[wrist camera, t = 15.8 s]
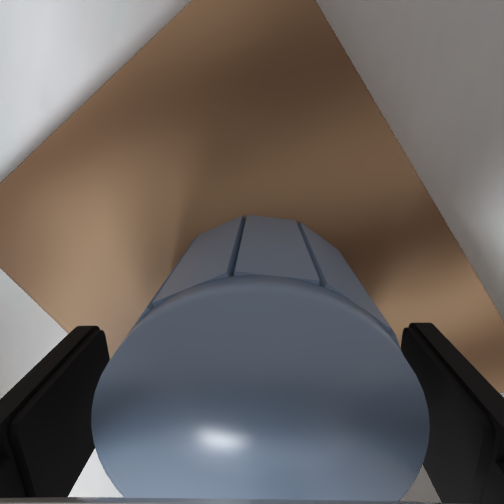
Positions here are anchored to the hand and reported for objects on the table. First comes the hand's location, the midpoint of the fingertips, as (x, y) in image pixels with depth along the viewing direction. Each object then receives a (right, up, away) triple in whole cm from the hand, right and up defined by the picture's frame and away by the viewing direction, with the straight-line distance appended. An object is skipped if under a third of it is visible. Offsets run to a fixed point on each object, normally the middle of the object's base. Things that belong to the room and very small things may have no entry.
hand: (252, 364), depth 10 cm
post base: (0, +2, +3) cm, 4 cm away
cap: (0, +1, +2) cm, 3 cm away
